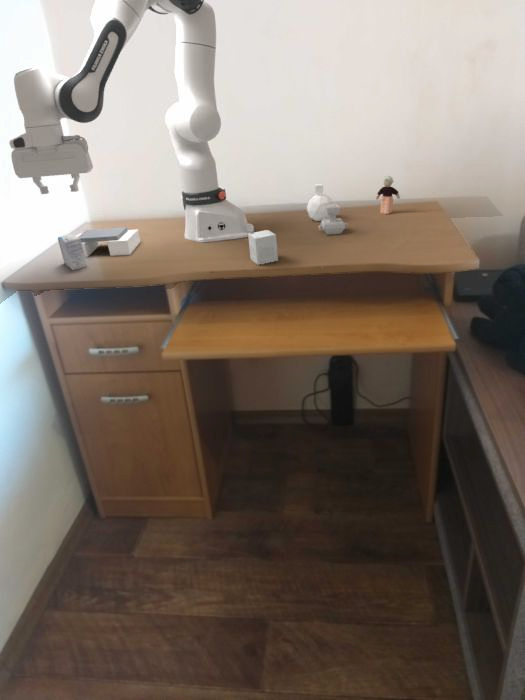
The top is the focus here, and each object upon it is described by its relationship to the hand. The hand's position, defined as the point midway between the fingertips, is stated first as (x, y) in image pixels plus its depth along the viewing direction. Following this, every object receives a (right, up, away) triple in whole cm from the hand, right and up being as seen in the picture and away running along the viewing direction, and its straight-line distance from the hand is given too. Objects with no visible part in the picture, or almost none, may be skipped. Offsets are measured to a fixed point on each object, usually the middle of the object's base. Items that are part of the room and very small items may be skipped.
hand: (60, 192), depth 142 cm
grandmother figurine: (+96, +2, +33) cm, 102 cm away
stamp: (+76, -7, +19) cm, 79 cm away
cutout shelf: (+6, -12, +21) cm, 25 cm away
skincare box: (+55, -18, +1) cm, 58 cm away
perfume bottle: (+74, 0, +32) cm, 81 cm away
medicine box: (+1, -19, +10) cm, 21 cm away
